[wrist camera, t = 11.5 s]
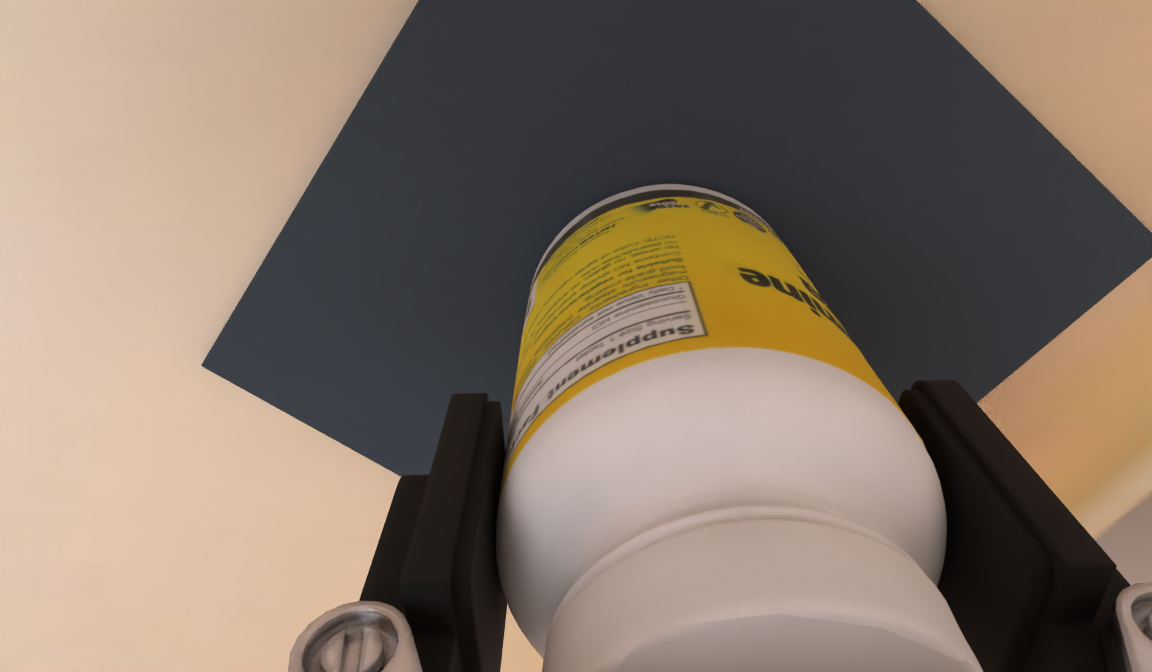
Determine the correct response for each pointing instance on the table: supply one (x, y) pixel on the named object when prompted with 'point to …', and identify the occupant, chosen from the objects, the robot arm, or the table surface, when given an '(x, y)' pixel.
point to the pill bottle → (710, 462)
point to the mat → (666, 156)
